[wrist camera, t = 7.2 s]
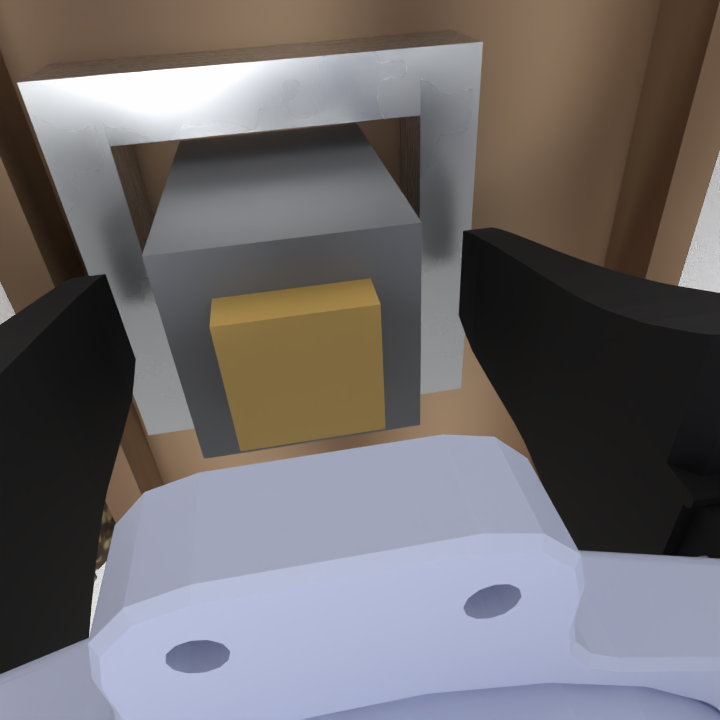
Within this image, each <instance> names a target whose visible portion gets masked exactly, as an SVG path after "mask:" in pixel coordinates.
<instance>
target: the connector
mask: <svg viewBox="0 0 720 720" xmlns="http://www.w3.org/2000/svg"><path fill="white" fill-rule="evenodd" d="M142 259H143V262H144V265H145V268H146V272H147V275H148V278H149V281H150V285H151V288H152V291H153V294H154V298H155V301H156V304H157V307H158V311H159V314H160V317H161V321H162V324H163V327H164V330H165V334H166V337H167V340H168V343H169V347H170V350H171V353H172V356H173V360H174V363H175V366H176V369H177V373H178V376H179V379H180V382H181V386H182V389H183V392H184V395H185V399H186V402H187V405H188V408H189V412H190V415H191V418H192V421H193V425H194V428H195V431H196V435H197V438H198V441H199V444H200V448H201V451H202V454H203V457H204V459H207V458H213V457H220V456H226V455H232V454H239V453H245V452H252V451H258V450H264V449H271V448H277V447H283V446H290V445H296V444H303V443H309V442H315V441H322V440H328V439H334V438H341V437H347V436H353V435H360V434H366V433H373V432H379V431H385V430H392V429H398V428H404V427H411V426H417V425H420V390H421V264H422V222H421V221H420V219H419V218H418V216H417V214H416V213H415V211H414V210H413V208H412V207H411V205H410V204H409V202H408V201H407V199H406V198H405V196H404V195H403V193H402V192H401V190H400V189H399V187H398V186H397V184H396V183H395V181H394V179H393V178H392V176H391V175H390V173H389V172H388V170H387V169H386V167H385V166H384V164H383V163H382V161H381V160H380V158H379V157H378V155H377V154H376V152H375V151H374V149H373V148H372V146H371V144H370V143H369V141H368V140H367V138H366V137H365V135H364V134H363V132H362V131H361V129H360V128H359V126H358V125H357V123H352V124H343V125H333V126H323V127H313V128H303V129H293V130H283V131H274V132H264V133H254V134H244V135H234V136H224V137H215V138H205V139H195V140H185V141H180V142H179V145H178V148H177V151H176V154H175V157H174V160H173V163H172V166H171V169H170V172H169V175H168V178H167V181H166V184H165V187H164V191H163V194H162V197H161V200H160V203H159V206H158V209H157V212H156V215H155V218H154V221H153V224H152V227H151V230H150V233H149V236H148V239H147V242H146V245H145V248H144V251H143V254H142Z"/></svg>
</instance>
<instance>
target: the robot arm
mask: <svg viewBox="0 0 720 720" xmlns="http://www.w3.org/2000/svg"><path fill="white" fill-rule="evenodd" d="M459 318H460V321H461V323H462V326H463V329H464V332H465V334H466V337H467V339H468V342H469V344H470V347H471V349H472V351H473V353H474V355H475V357H476V359H477V360H478V362H479V364H480V366H481V367H482V369H483V371H484V372H485V374H486V376H487V378H488V379H489V381H490V383H491V384H492V386H493V388H494V390H495V391H496V393H497V395H498V396H499V398H500V400H501V401H502V403H503V405H504V406H505V408H506V410H507V412H508V413H509V415H510V417H511V418H512V420H513V422H514V423H515V425H516V427H517V429H518V431H519V433H520V435H521V437H522V439H523V441H524V443H525V445H526V447H527V449H528V452H529V454H530V456H531V459H532V461H533V463H534V466H535V468H536V470H537V473H538V475H539V477H540V479H541V482H542V484H543V485H542V484H541V482H540V480H539V478H538V476H537V474H536V473H535V471H534V469H533V467H532V465H531V464H530V462H529V460H528V458H526V457H525V456H523V455H522V454H520V453H519V452H517V451H516V450H514V449H513V448H511V447H510V446H508V445H506V444H505V443H503V442H502V441H500V440H499V439H497V438H496V437H490V436H467V435H445V434H442V435H436V436H429V437H423V438H417V439H410V440H404V441H397V442H391V443H385V444H378V445H372V446H365V447H359V448H353V449H346V450H340V451H333V452H327V453H321V454H314V455H308V456H301V457H295V458H289V459H282V460H276V461H269V462H263V463H257V464H250V465H244V466H237V467H231V468H225V469H218V470H212V471H205V472H199V473H196V474H193V475H191V476H188V477H185V478H182V479H180V480H177V481H174V482H171V483H168V484H166V485H163V486H160V487H157V488H155V489H152V490H149V491H146V492H144V493H143V494H142V496H141V497H140V498H139V499H138V500H137V501H136V502H135V503H134V505H133V506H132V507H131V508H130V509H129V510H128V511H127V512H126V513H125V515H124V516H123V517H122V518H121V519H120V520H119V521H118V522H117V523H116V525H115V526H114V531H113V535H112V540H111V544H110V549H109V553H108V557H107V562H106V566H105V571H104V575H103V579H102V584H101V588H100V593H99V597H98V602H97V606H96V610H95V615H94V619H93V624H92V628H91V633H90V637H89V629H90V617H91V604H92V595H93V586H94V577H95V568H96V559H97V551H98V544H99V537H100V530H101V523H102V516H103V509H104V504H105V500H106V495H107V490H108V486H109V483H110V479H111V475H112V472H113V468H114V465H115V461H116V457H117V454H118V450H119V446H120V443H121V439H122V436H123V432H124V428H125V424H126V421H127V417H128V413H129V409H130V405H131V401H132V395H133V386H134V375H135V363H136V358H135V355H134V353H133V350H132V347H131V344H130V341H129V339H128V336H127V333H126V330H125V327H124V324H123V322H122V319H121V316H120V313H119V310H118V308H117V305H116V302H115V299H114V296H113V294H112V291H111V288H110V285H109V282H108V279H107V277H106V274H101V275H93V276H85V277H77V278H72V279H70V280H68V281H66V282H64V283H62V284H60V285H59V286H57V287H55V288H54V289H52V290H51V291H49V292H48V293H46V294H45V295H43V296H42V297H40V298H39V299H37V300H36V301H34V302H33V303H31V304H30V305H28V306H27V307H26V308H24V309H23V310H21V311H20V312H18V313H17V314H15V315H14V316H12V317H11V318H10V319H8V320H7V321H5V322H4V323H2V324H1V325H0V720H720V293H716V292H710V291H704V290H698V289H692V288H686V287H680V286H675V285H670V284H665V283H660V282H656V281H652V280H648V279H644V278H640V277H636V276H632V275H628V274H624V273H621V272H617V271H614V270H611V269H607V268H604V267H601V266H598V265H595V264H592V263H589V262H586V261H583V260H581V259H578V258H575V257H572V256H570V255H567V254H564V253H562V252H559V251H557V250H554V249H552V248H549V247H547V246H544V245H542V244H539V243H537V242H534V241H532V240H529V239H527V238H524V237H521V236H519V235H516V234H513V233H511V232H508V231H505V230H502V229H498V228H493V227H489V228H481V229H473V230H465V231H463V241H462V260H461V278H460V297H459Z"/></svg>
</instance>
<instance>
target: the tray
mask: <svg viewBox="0 0 720 720" xmlns="http://www.w3.org/2000/svg"><path fill="white" fill-rule="evenodd" d="M445 30H454V31H456V32H459V33H461V34H464V35H467V36H469V37H472V38H475V39H477V40H480V41H482V42H483V50H482V66H481V82H480V98H479V113H478V129H477V145H476V161H475V177H474V192H473V208H472V224H471V230H473V229H481V228H489V227H493V228H498V229H502V230H505V231H508V232H511V233H513V234H516V235H519V236H521V237H524V238H527V239H529V240H532V241H534V242H537V243H539V244H542V245H544V246H547V247H549V248H552V249H554V250H557V251H559V252H562V253H564V254H567V255H570V256H572V257H575V258H578V259H581V260H583V261H586V262H589V263H592V264H595V265H598V266H601V267H604V268H607V269H611V270H614V271H617V272H621V273H624V274H628V275H632V276H636V277H640V278H644V279H648V280H652V281H656V282H660V283H665V284H670V285H675V286H678V283H679V280H680V277H681V274H682V270H683V267H684V264H685V261H686V257H687V254H688V251H689V248H690V244H691V241H692V238H693V235H694V231H695V228H696V225H697V222H698V218H699V215H700V212H701V209H702V205H703V202H704V199H705V196H706V192H707V189H708V186H709V183H710V179H711V176H712V173H713V170H714V166H715V163H716V160H717V157H718V153H719V150H720V0H0V282H1V284H2V286H3V288H4V290H5V292H6V294H7V297H8V299H9V301H10V303H11V305H12V307H13V309H14V311H15V313H16V314H17V313H18V312H20V311H21V310H23V309H24V308H26V307H27V306H28V305H30V304H31V303H33V302H34V301H36V300H37V299H39V298H40V297H42V296H43V295H45V294H46V293H48V292H49V291H51V290H52V289H54V288H55V287H57V286H59V285H60V284H62V283H64V282H66V281H68V280H70V279H72V278H77V277H85V276H89V274H88V272H87V269H86V266H85V264H84V261H83V258H82V256H81V253H80V250H79V248H78V245H77V242H76V240H75V237H74V234H73V231H72V229H71V226H70V223H69V221H68V218H67V215H66V213H65V210H64V207H63V205H62V202H61V199H60V197H59V194H58V191H57V189H56V186H55V183H54V181H53V178H52V175H51V172H50V170H49V167H48V164H47V162H46V159H45V156H44V154H43V151H42V148H41V146H40V143H39V140H38V138H37V135H36V132H35V130H34V127H33V124H32V122H31V119H30V116H29V113H28V111H27V108H26V105H25V103H24V100H23V97H22V95H21V92H20V89H19V87H18V84H17V82H19V81H20V80H22V79H24V78H26V77H27V76H29V75H31V74H32V73H34V72H36V71H37V70H39V69H41V68H43V67H44V66H46V65H48V64H56V63H68V62H79V61H91V60H103V59H115V58H127V57H138V56H150V55H162V54H174V53H185V52H197V51H209V50H221V49H233V48H244V47H256V46H268V45H280V44H291V43H303V42H315V41H327V40H339V39H350V38H362V37H374V36H386V35H397V34H409V33H421V32H433V31H445ZM352 123H357V125H358V126H359V128H360V129H361V131H362V132H363V134H364V135H365V137H366V138H367V140H368V141H369V143H370V144H371V146H372V148H373V149H374V151H375V152H376V154H377V155H378V157H379V158H380V160H381V161H382V163H383V164H384V166H385V167H386V169H387V170H388V172H389V173H390V175H391V176H392V178H393V179H394V181H395V183H396V184H397V186H398V187H399V189H400V164H399V118H389V119H379V120H369V121H359V122H349V123H339V124H329V125H319V126H309V127H299V128H289V129H279V130H269V131H259V132H249V133H239V134H229V135H219V136H209V137H199V138H188V139H178V140H168V141H158V142H148V143H138V144H133V145H134V148H135V152H136V155H137V159H138V162H139V166H140V170H141V173H142V177H143V180H144V184H145V187H146V191H147V195H148V198H149V202H150V205H151V209H152V212H153V216H154V218H155V215H156V212H157V209H158V206H159V203H160V200H161V197H162V194H163V191H164V187H165V184H166V181H167V178H168V175H169V172H170V169H171V166H172V163H173V160H174V157H175V154H176V151H177V148H178V145H179V142H180V141H185V140H195V139H205V138H215V137H224V136H234V135H244V134H254V133H264V132H274V131H283V130H293V129H303V128H313V127H323V126H333V125H343V124H352ZM442 434H445V435H467V436H490V437H496V438H497V439H499V440H500V441H502V442H503V443H505V444H506V445H508V446H510V447H511V448H513V449H514V450H516V451H517V452H519V453H520V454H522V455H523V456H525V457H526V458H528V460H529V462H530V464H531V465H532V467H533V469H534V471H535V473H536V474H537V476H538V478H539V480H540V482H541V479H540V477H539V475H538V473H537V470H536V468H535V466H534V463H533V461H532V459H531V456H530V454H529V452H528V449H527V447H526V445H525V443H524V441H523V439H522V437H521V435H520V433H519V431H518V429H517V427H516V425H515V423H514V422H513V420H512V418H511V417H510V415H509V413H508V412H507V410H506V408H505V406H504V405H503V403H502V401H501V400H500V398H499V396H498V395H497V393H496V391H495V390H494V388H493V386H492V384H491V383H490V381H489V379H488V378H487V376H486V374H485V372H484V371H483V369H482V367H481V366H480V364H479V362H478V360H477V359H476V357H475V355H474V353H473V351H472V349H471V347H470V344H469V342H468V339H467V337H466V334H465V335H464V350H463V366H462V382H461V388H460V389H453V390H447V391H440V392H434V393H427V394H420V425H417V426H411V427H404V428H398V429H392V430H385V431H379V432H373V433H366V434H360V435H353V436H347V437H341V438H334V439H328V440H322V441H315V442H309V443H303V444H296V445H290V446H283V447H277V448H271V449H264V450H258V451H252V452H245V453H239V454H232V455H226V456H220V457H213V458H207V459H204V457H203V454H202V451H201V448H200V444H199V441H198V438H197V435H196V431H195V428H194V429H188V430H181V431H174V432H168V433H161V434H155V435H148V433H147V430H146V427H145V425H144V422H143V419H142V417H141V414H140V411H139V408H138V406H137V403H136V400H135V398H134V395H132V401H131V405H130V409H129V413H128V417H127V421H126V424H125V428H124V432H123V436H122V439H121V443H120V446H119V450H118V454H117V457H116V461H115V465H114V468H113V472H112V475H111V479H110V483H109V486H108V490H107V495H106V500H105V501H106V504H107V506H108V508H109V510H110V512H111V514H112V516H113V518H114V520H115V522H116V523H117V522H118V521H119V520H120V519H121V518H122V517H123V516H124V515H125V513H126V512H127V511H128V510H129V509H130V508H131V507H132V506H133V505H134V503H135V502H136V501H137V500H138V499H139V498H140V497H141V496H142V494H143V493H144V492H146V491H149V490H152V489H155V488H157V487H160V486H163V485H166V484H168V483H171V482H174V481H177V480H180V479H182V478H185V477H188V476H191V475H193V474H196V473H199V472H205V471H212V470H218V469H225V468H231V467H237V466H244V465H250V464H257V463H263V462H269V461H276V460H282V459H289V458H295V457H301V456H308V455H314V454H321V453H327V452H333V451H340V450H346V449H353V448H359V447H365V446H372V445H378V444H385V443H391V442H397V441H404V440H410V439H417V438H423V437H429V436H436V435H442ZM541 484H542V482H541ZM542 485H543V484H542Z"/></svg>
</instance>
